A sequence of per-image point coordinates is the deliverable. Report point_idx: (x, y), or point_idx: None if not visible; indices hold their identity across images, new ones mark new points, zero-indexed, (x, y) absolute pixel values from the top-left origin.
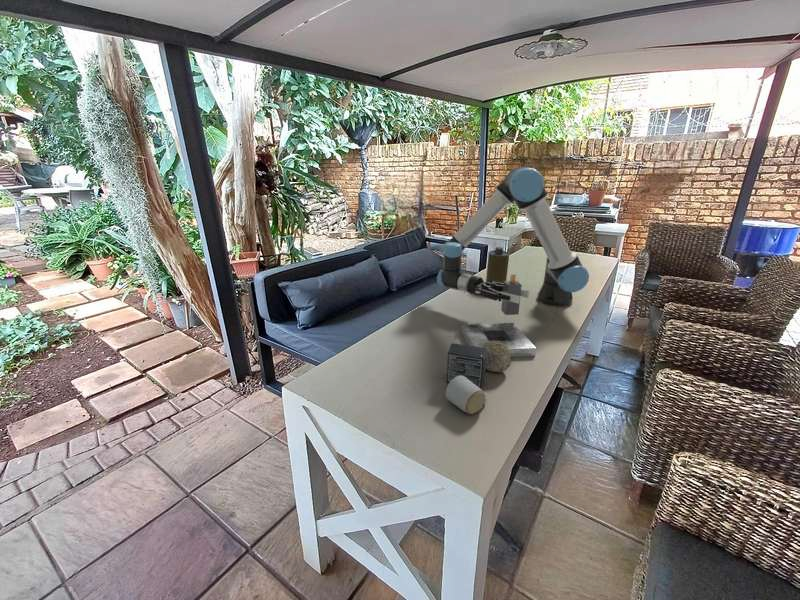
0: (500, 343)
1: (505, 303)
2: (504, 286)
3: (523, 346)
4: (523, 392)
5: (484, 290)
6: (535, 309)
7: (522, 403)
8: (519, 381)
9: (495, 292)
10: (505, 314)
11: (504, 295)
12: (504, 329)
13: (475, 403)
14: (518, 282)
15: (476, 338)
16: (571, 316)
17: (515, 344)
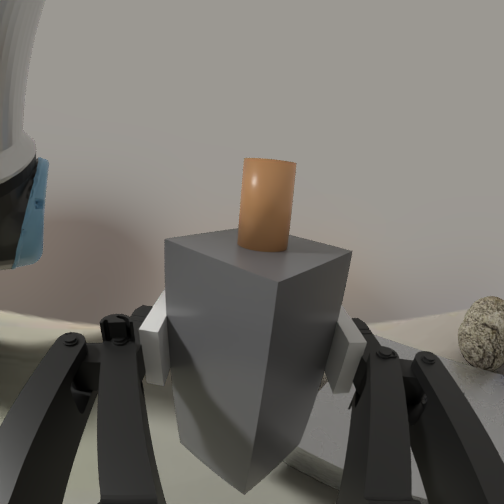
0: (492, 296)
1: (301, 412)
2: (294, 325)
3: (393, 347)
4: (452, 323)
5: (490, 461)
6: (3, 405)
7: (462, 317)
8: (446, 333)
9: (401, 396)
10: (296, 445)
11: (367, 339)
12: None
13: None
14: (212, 232)
15: (491, 416)
16: (48, 334)
17: (406, 359)
